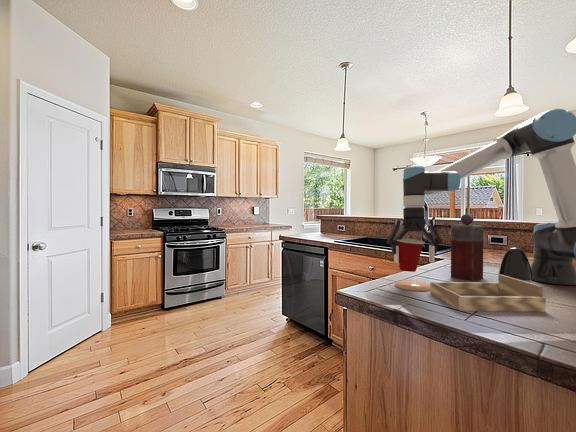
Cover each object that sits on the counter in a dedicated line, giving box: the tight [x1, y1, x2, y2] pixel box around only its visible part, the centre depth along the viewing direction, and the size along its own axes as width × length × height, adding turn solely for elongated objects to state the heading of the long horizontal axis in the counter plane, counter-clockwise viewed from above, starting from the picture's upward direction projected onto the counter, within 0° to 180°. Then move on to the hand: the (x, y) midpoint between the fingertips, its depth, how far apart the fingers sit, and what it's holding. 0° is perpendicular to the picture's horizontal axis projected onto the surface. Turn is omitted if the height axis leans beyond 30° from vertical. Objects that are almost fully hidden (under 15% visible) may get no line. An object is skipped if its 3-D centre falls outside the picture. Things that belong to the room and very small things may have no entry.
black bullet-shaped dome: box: [498, 246, 533, 283], centre depth 109 cm, size 10×10×15 cm
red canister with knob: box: [450, 213, 484, 282], centre depth 120 cm, size 9×11×28 cm
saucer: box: [394, 279, 430, 292], centre depth 108 cm, size 13×13×1 cm
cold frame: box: [429, 274, 546, 313], centre depth 89 cm, size 24×18×7 cm
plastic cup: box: [397, 237, 426, 273], centre depth 108 cm, size 11×11×12 cm
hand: (414, 262), depth 108 cm, fingers open, 13 cm apart
